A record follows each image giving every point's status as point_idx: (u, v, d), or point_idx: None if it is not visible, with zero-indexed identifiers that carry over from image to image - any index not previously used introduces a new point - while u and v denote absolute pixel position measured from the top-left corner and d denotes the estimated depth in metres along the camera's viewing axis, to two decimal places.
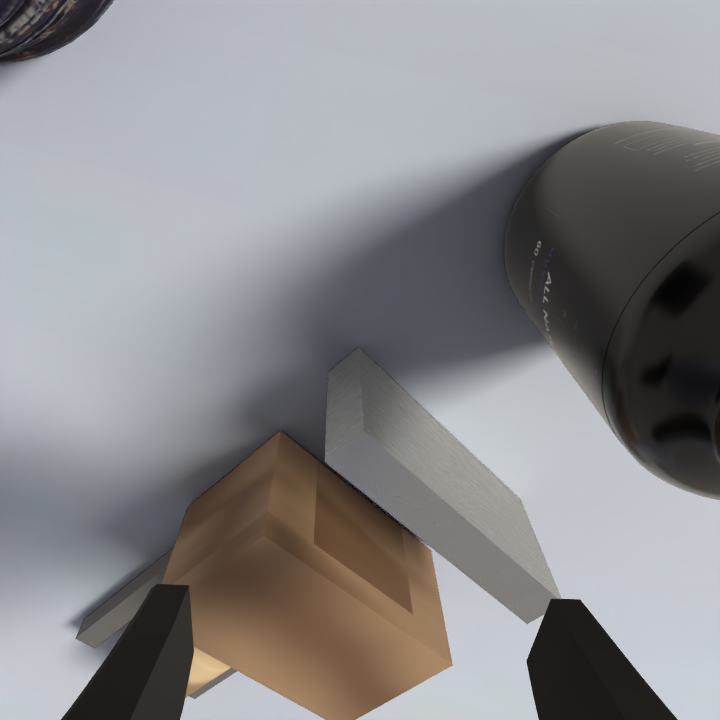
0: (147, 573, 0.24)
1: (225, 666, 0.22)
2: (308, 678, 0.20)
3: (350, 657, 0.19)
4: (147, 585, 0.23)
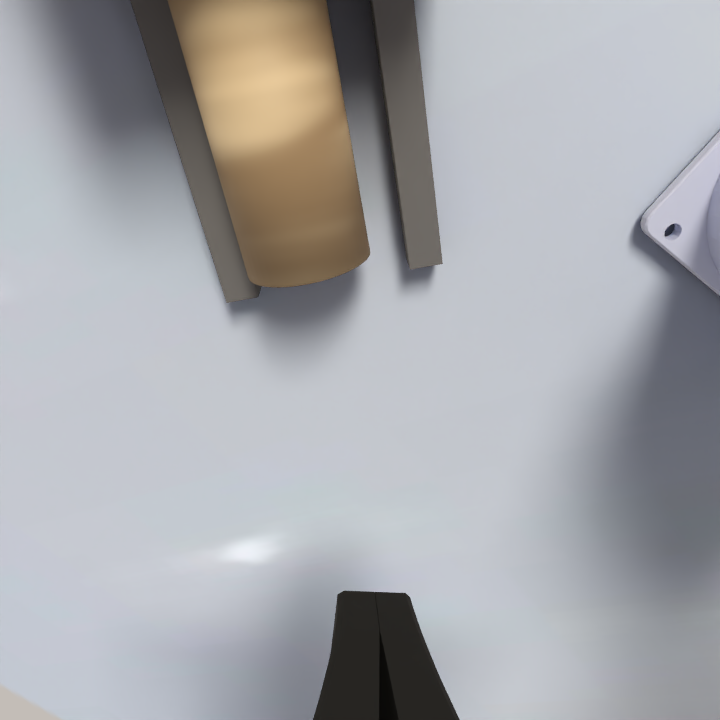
0: None
1: (263, 63, 0.12)
2: None
3: None
4: (176, 128, 0.15)
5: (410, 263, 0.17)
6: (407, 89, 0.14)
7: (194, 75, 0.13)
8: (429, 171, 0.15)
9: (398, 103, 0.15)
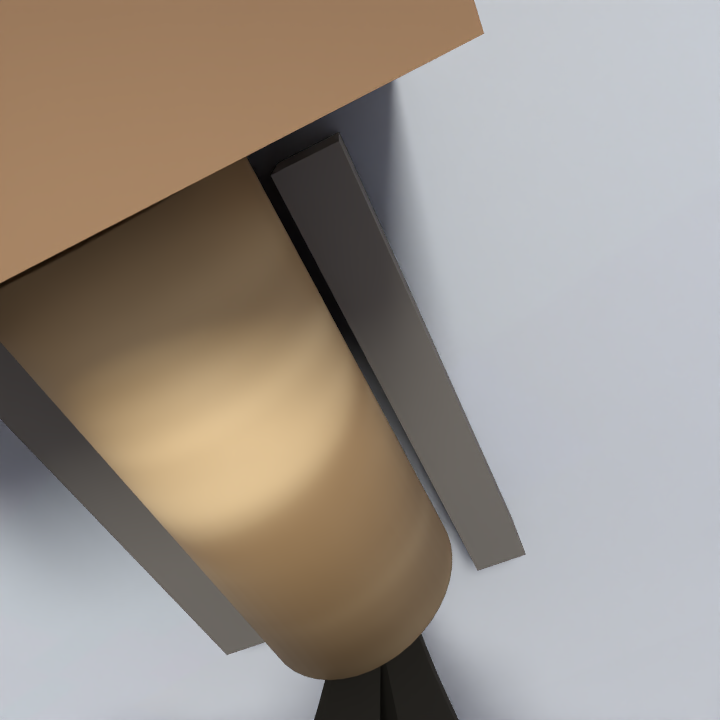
0: None
1: (254, 361, 0.06)
2: None
3: None
4: (81, 493, 0.10)
5: (476, 564, 0.11)
6: (410, 366, 0.09)
7: (101, 431, 0.06)
8: (475, 456, 0.10)
9: (401, 386, 0.09)
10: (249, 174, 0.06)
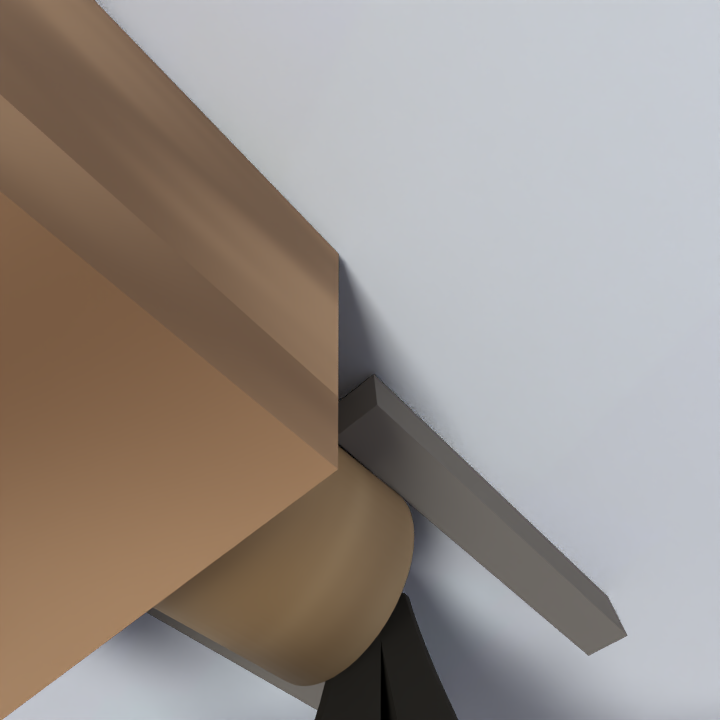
0: None
1: None
2: None
3: None
4: (251, 667, 0.12)
5: (585, 651, 0.12)
6: (480, 529, 0.10)
7: None
8: (557, 577, 0.11)
9: (478, 543, 0.11)
10: None
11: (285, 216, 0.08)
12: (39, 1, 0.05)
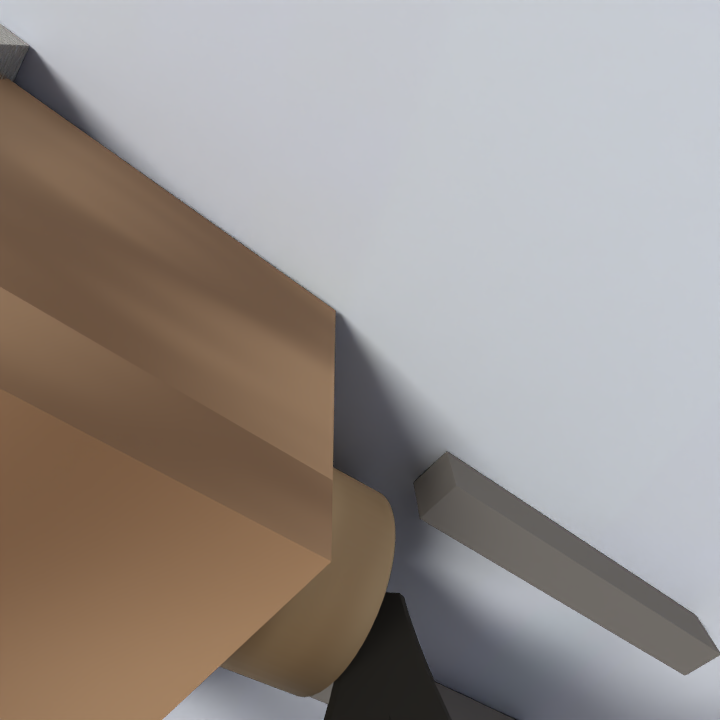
0: None
1: None
2: (12, 685, 0.05)
3: None
4: None
5: (681, 672, 0.13)
6: (565, 577, 0.11)
7: None
8: (644, 610, 0.12)
9: (564, 590, 0.11)
10: None
11: (277, 291, 0.08)
12: (27, 159, 0.06)
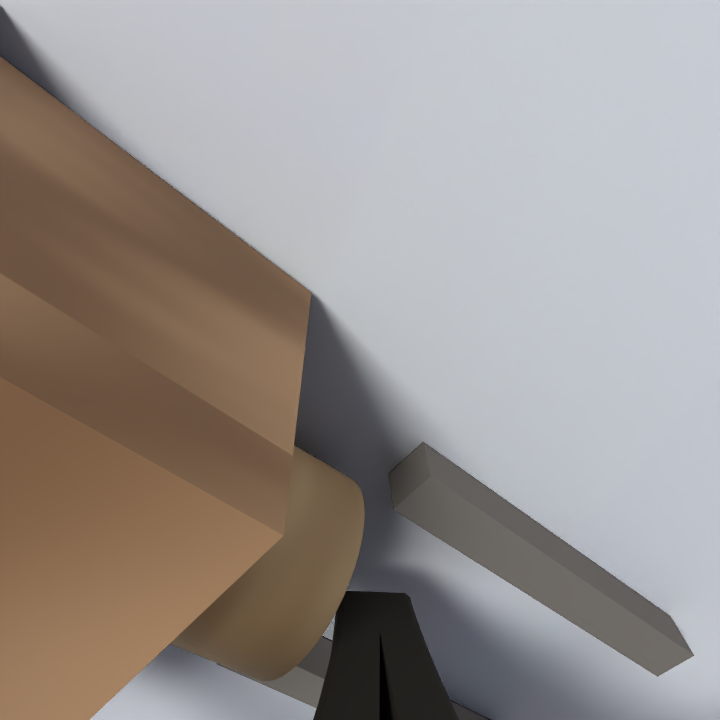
0: None
1: None
2: None
3: None
4: None
5: (654, 672, 0.13)
6: (539, 573, 0.11)
7: None
8: (618, 609, 0.12)
9: (538, 586, 0.11)
10: None
11: (250, 268, 0.08)
12: None
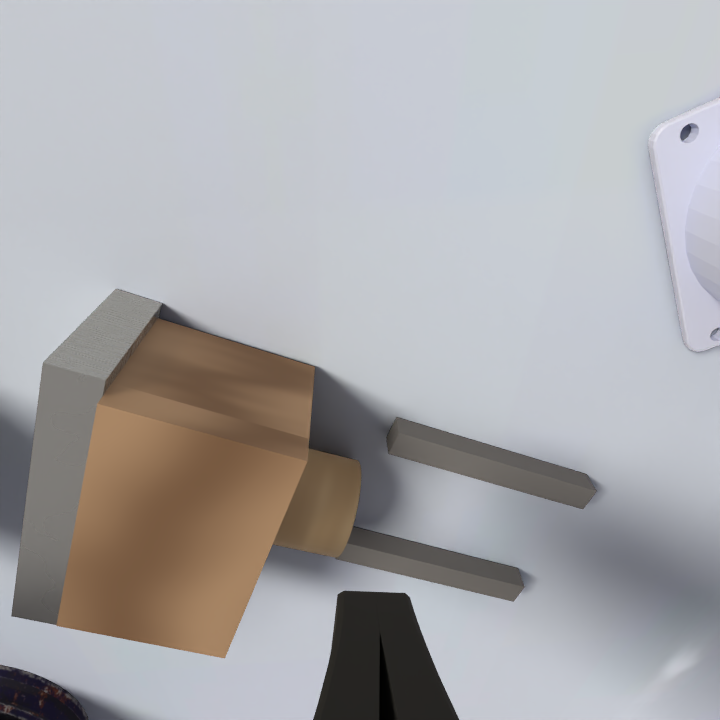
0: None
1: None
2: (226, 528, 0.16)
3: (163, 508, 0.15)
4: (410, 574, 0.23)
5: (579, 507, 0.22)
6: (479, 466, 0.21)
7: None
8: (534, 475, 0.21)
9: (482, 473, 0.21)
10: None
11: (283, 369, 0.18)
12: (179, 355, 0.17)
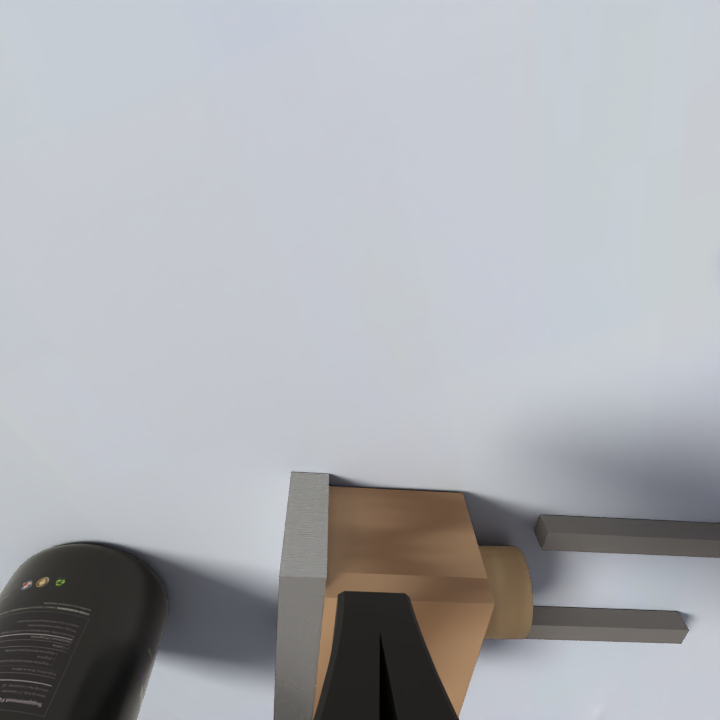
0: None
1: None
2: (436, 661, 0.19)
3: None
4: (579, 638, 0.26)
5: None
6: (626, 543, 0.23)
7: None
8: (678, 540, 0.23)
9: (630, 548, 0.23)
10: None
11: (440, 505, 0.22)
12: (359, 521, 0.20)
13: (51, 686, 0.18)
